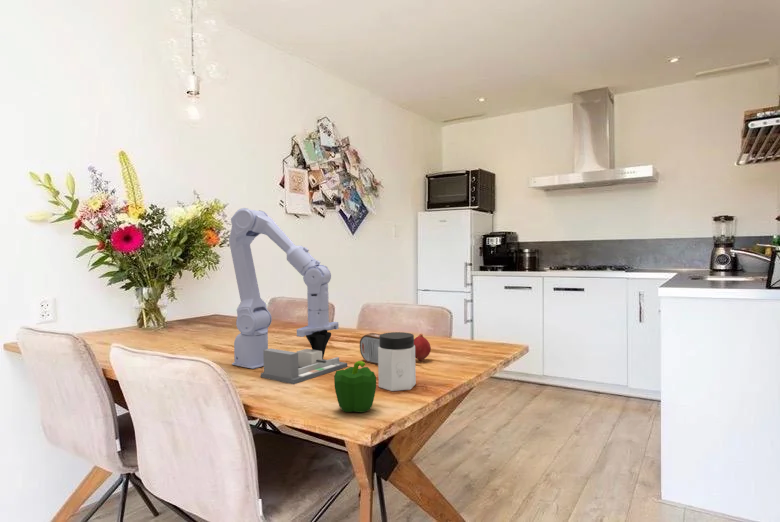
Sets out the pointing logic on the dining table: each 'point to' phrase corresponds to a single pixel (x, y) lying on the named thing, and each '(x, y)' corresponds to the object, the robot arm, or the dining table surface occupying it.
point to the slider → (309, 357)
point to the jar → (396, 361)
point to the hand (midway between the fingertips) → (319, 358)
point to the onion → (421, 347)
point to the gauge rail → (294, 367)
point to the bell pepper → (355, 388)
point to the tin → (370, 347)
